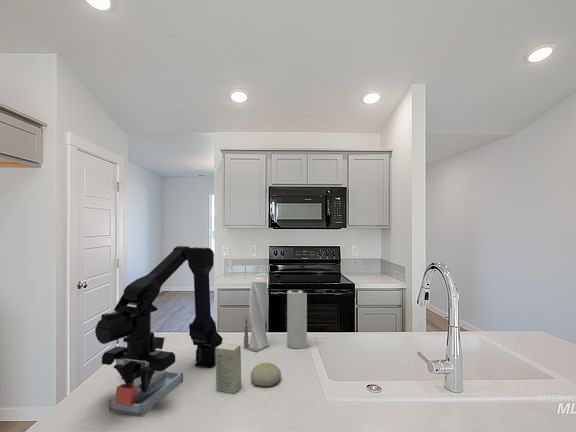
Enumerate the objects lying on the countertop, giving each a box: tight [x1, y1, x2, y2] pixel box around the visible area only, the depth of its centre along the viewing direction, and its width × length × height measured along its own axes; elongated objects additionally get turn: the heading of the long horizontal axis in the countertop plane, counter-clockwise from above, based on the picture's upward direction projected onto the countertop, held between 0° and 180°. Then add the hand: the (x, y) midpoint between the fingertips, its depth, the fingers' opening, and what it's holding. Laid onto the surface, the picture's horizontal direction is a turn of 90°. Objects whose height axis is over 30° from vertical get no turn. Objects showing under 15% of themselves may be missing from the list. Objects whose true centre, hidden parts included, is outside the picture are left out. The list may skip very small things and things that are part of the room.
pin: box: [115, 370, 167, 406], centre depth 88 cm, size 4×15×4 cm, turn 167°
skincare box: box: [215, 342, 242, 394], centre depth 94 cm, size 6×4×12 cm
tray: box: [108, 370, 184, 417], centre depth 90 cm, size 10×19×2 cm, turn 166°
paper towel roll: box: [286, 289, 308, 349], centre depth 126 cm, size 7×6×21 cm
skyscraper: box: [242, 273, 270, 353], centre depth 126 cm, size 8×8×28 cm
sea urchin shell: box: [250, 362, 282, 387], centre depth 98 cm, size 9×8×8 cm
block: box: [121, 349, 162, 380], centre depth 102 cm, size 8×8×6 cm
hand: (138, 390), depth 86 cm, fingers open, 4 cm apart
